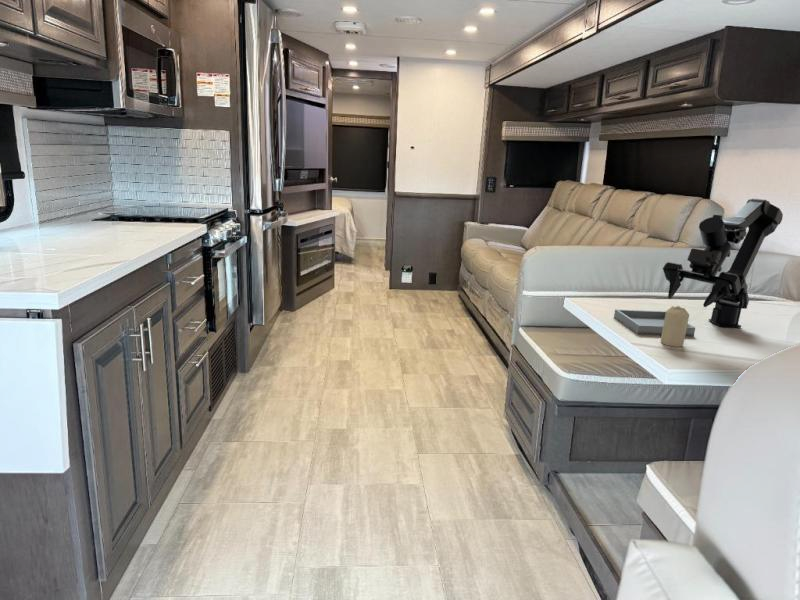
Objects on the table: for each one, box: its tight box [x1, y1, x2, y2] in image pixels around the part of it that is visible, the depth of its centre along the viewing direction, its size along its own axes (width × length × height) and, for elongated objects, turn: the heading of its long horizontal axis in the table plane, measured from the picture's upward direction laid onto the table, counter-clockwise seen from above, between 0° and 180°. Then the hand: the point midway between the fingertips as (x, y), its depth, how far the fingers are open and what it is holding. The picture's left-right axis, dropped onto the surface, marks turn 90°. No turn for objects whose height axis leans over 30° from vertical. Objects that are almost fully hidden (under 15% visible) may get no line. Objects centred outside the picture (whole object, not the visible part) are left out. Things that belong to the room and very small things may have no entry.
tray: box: [613, 309, 696, 337], centre depth 160 cm, size 16×16×2 cm
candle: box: [660, 305, 690, 348], centre depth 145 cm, size 6×6×10 cm
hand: (686, 301), depth 146 cm, fingers open, 9 cm apart
